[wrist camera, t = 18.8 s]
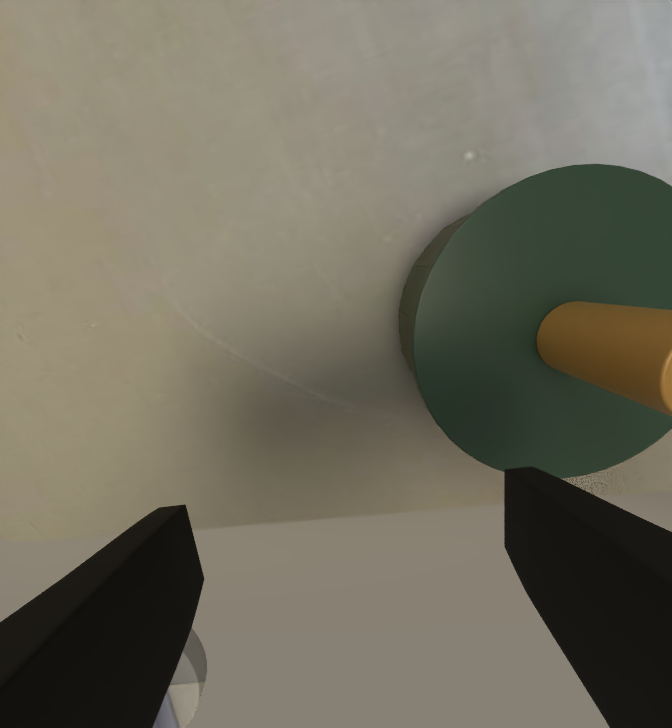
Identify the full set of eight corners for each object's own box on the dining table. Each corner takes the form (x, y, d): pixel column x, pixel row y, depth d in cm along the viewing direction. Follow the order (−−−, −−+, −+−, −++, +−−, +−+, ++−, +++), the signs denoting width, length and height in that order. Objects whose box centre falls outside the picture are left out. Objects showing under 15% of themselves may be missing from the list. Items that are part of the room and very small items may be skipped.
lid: (686, 449, 15) (921, 562, 9) (416, 479, 15) (471, 610, 9) (716, 153, 12) (1066, 39, 6) (394, 194, 13) (449, 120, 7)
